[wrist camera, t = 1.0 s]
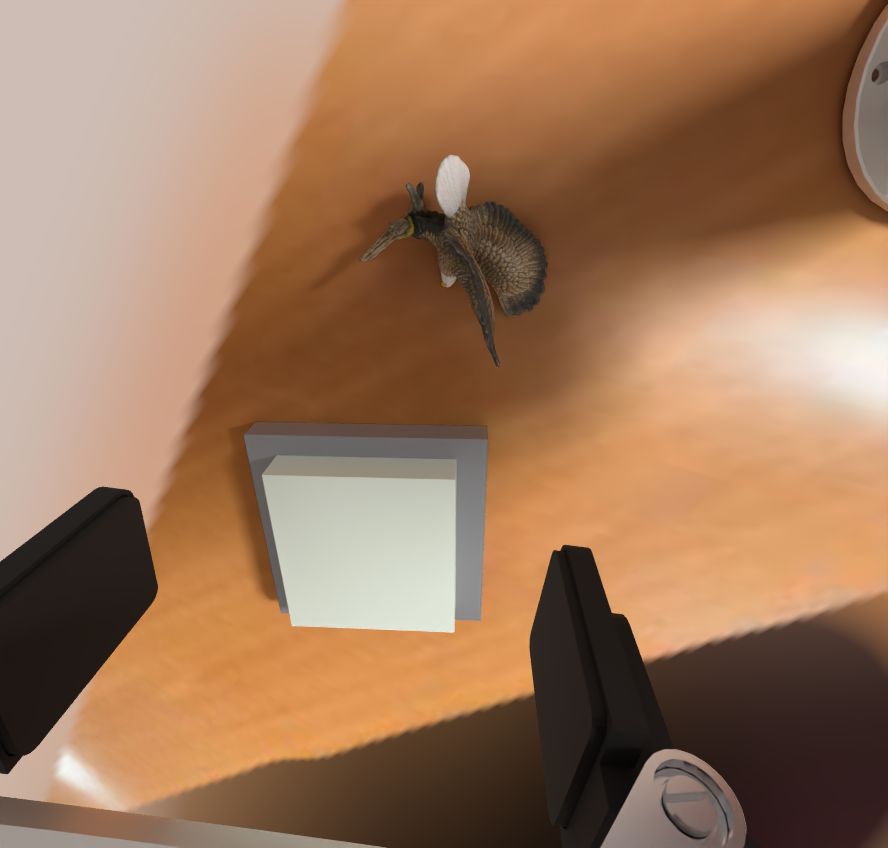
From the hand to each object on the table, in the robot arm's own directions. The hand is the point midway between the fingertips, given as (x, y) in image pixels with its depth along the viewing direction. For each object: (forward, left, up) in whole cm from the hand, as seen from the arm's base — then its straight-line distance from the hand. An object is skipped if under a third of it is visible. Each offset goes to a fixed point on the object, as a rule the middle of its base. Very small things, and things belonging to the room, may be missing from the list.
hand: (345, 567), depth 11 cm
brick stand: (+4, +14, -21) cm, 26 cm away
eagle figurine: (-3, -4, -21) cm, 22 cm away
